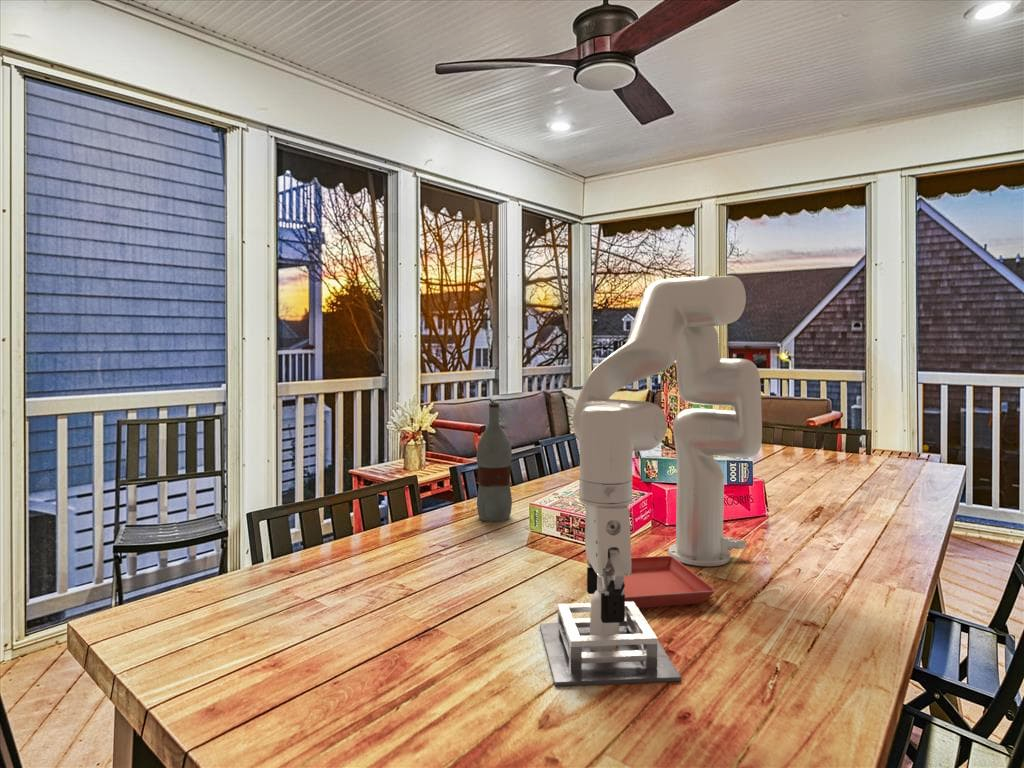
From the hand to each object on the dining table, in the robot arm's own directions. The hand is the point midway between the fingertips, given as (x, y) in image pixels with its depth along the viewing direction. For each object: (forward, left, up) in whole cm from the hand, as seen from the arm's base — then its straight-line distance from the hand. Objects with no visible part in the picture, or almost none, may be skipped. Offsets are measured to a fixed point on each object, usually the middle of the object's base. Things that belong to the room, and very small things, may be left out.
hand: (604, 606), depth 89 cm
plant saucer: (-13, -22, -7) cm, 27 cm away
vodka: (+13, -71, -7) cm, 73 cm away
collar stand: (0, 0, -7) cm, 7 cm away
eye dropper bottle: (0, 0, -6) cm, 6 cm away
